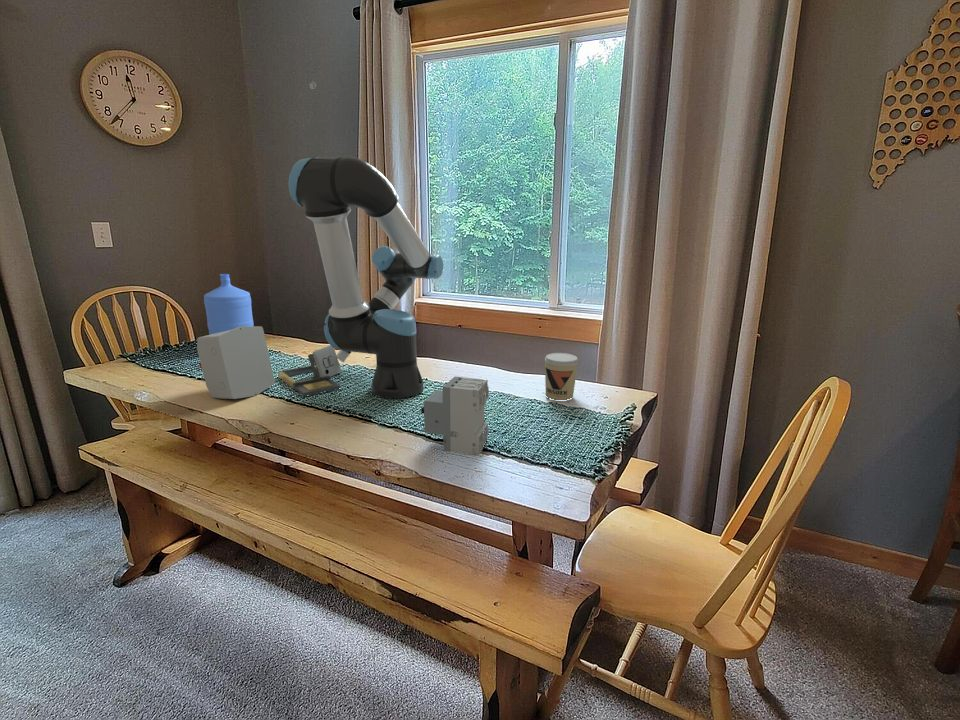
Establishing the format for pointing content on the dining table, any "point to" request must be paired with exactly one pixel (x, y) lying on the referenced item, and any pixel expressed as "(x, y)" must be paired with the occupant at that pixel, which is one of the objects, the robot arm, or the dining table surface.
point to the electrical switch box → (235, 362)
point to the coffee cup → (560, 375)
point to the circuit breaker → (458, 414)
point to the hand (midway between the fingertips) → (339, 359)
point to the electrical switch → (324, 362)
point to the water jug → (227, 307)
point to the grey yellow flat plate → (308, 381)
